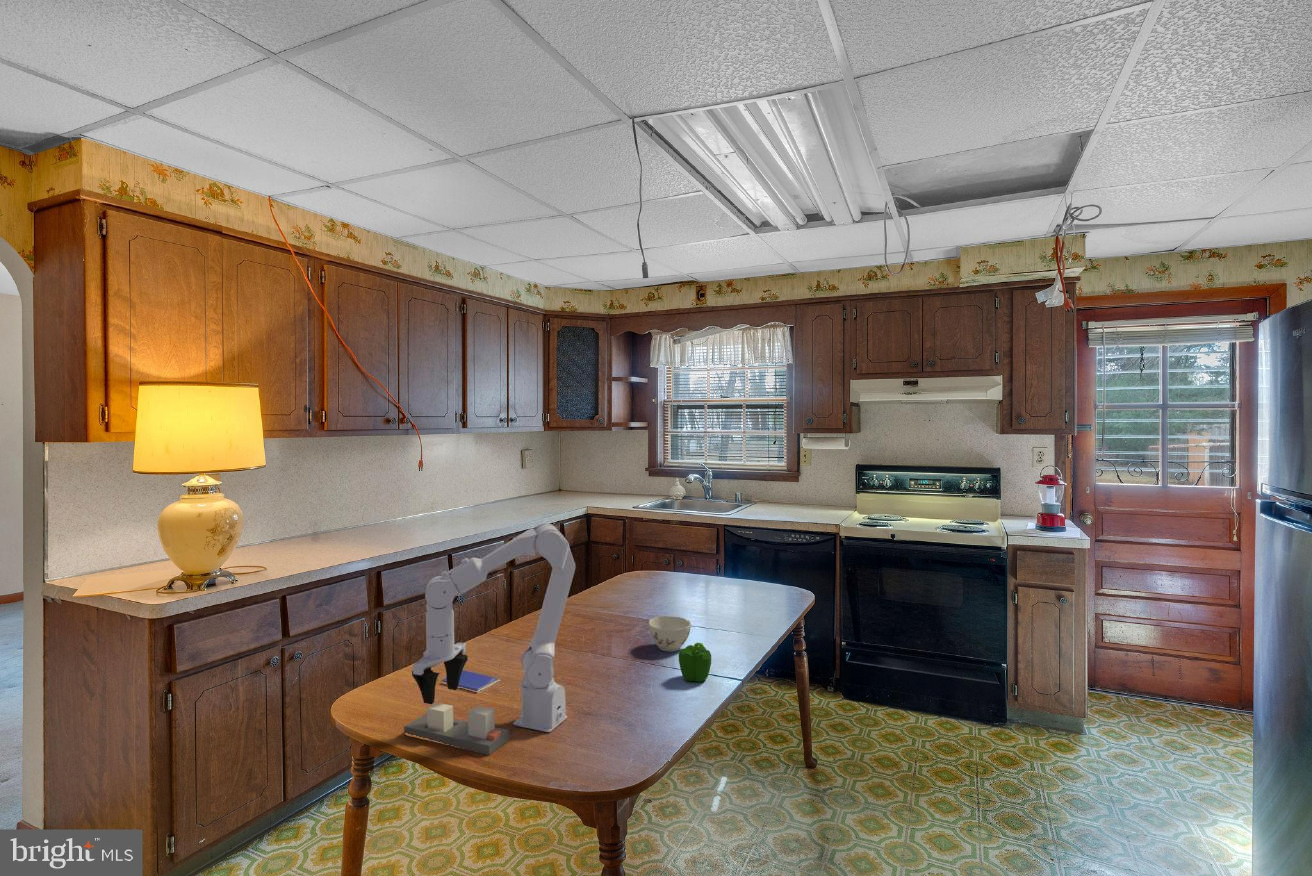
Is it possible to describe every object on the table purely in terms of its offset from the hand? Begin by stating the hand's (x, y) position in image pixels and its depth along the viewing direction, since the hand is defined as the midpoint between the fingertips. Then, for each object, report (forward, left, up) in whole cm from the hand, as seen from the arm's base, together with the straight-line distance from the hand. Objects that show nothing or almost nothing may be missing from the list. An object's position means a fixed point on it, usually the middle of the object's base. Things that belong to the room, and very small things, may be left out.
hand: (441, 695), depth 142 cm
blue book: (+12, -25, -9) cm, 29 cm away
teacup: (-27, -69, -9) cm, 75 cm away
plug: (0, 0, -8) cm, 9 cm away
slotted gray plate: (-4, 0, -8) cm, 9 cm away
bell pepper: (-41, -49, -9) cm, 64 cm away
